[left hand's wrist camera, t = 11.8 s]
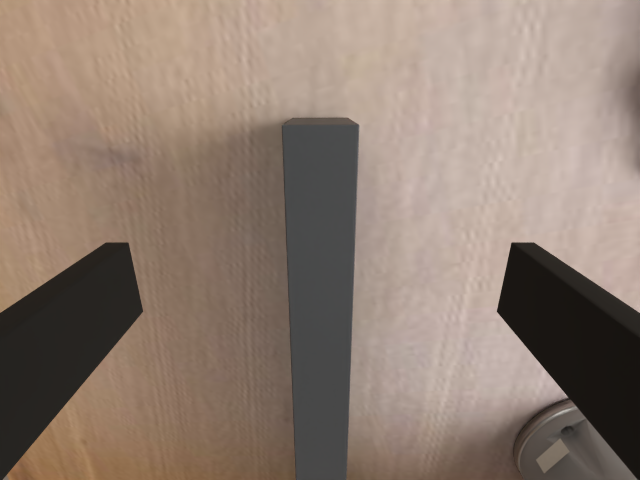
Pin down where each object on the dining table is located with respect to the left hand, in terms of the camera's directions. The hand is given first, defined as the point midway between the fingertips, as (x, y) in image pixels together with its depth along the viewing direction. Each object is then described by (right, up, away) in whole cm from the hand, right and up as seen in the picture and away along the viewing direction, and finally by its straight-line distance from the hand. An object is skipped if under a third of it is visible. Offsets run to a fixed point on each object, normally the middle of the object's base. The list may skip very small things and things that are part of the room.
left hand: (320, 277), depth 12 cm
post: (0, -13, +27) cm, 30 cm away
